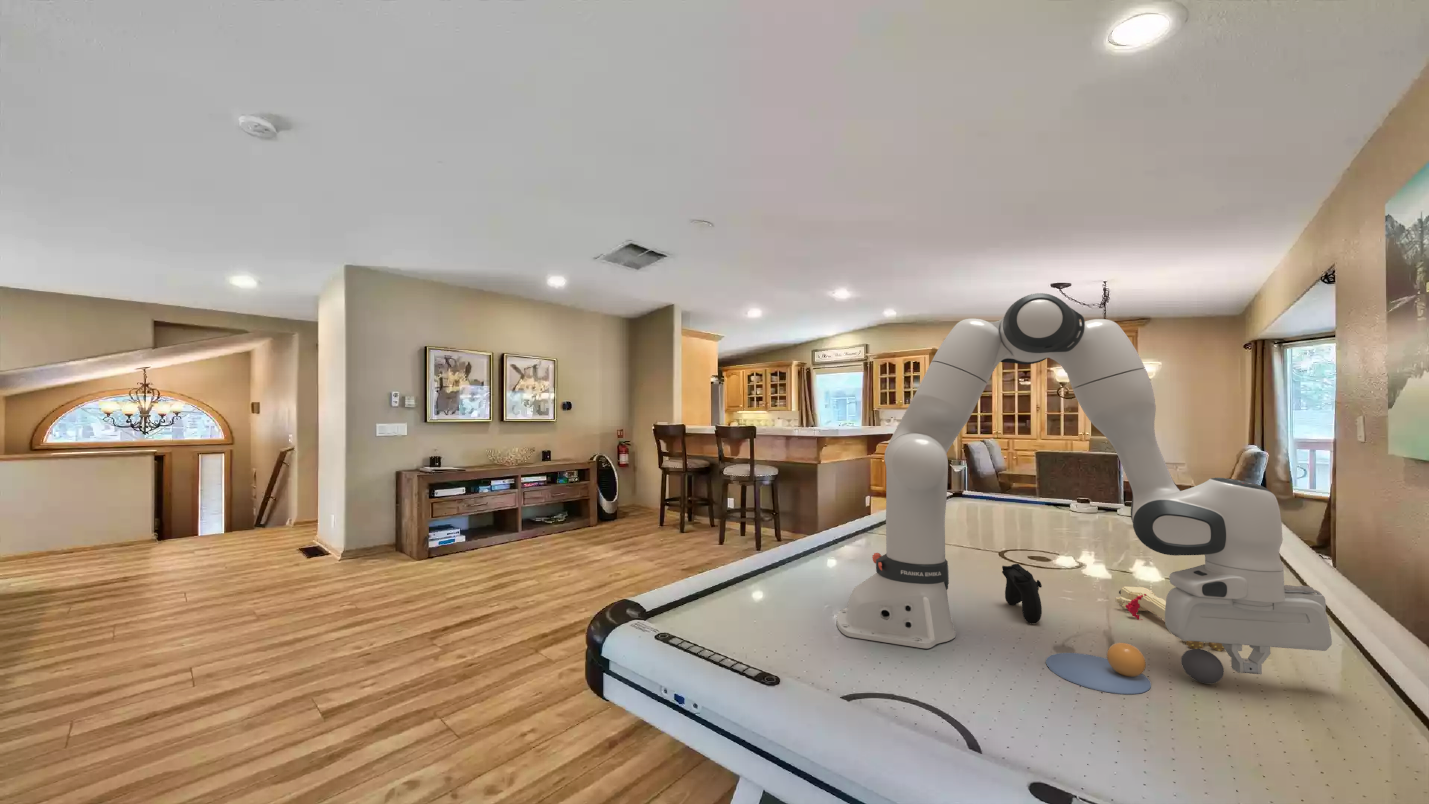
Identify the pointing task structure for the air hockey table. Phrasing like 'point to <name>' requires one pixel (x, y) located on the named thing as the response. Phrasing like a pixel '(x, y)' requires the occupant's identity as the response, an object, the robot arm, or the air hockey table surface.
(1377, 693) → the air hockey table surface
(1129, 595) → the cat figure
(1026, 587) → the gaming controller
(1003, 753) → the air hockey table surface
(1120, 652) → the object ball
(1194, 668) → the dark grey ball
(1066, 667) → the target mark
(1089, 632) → the air hockey table surface
